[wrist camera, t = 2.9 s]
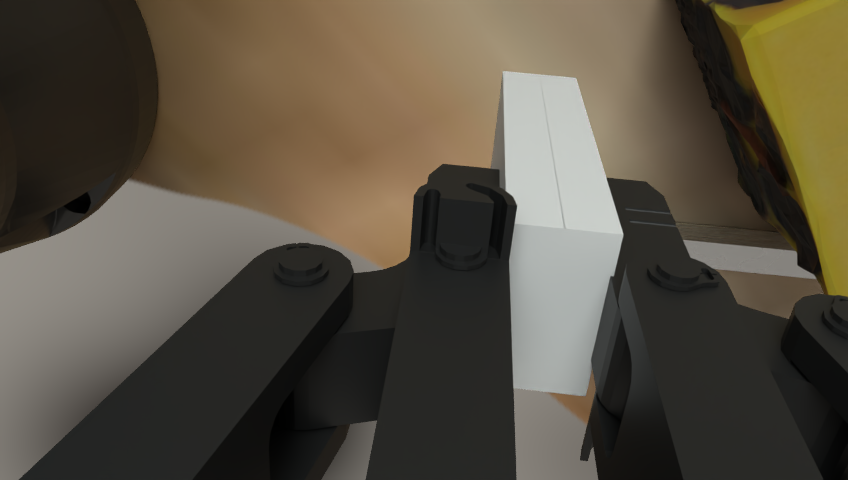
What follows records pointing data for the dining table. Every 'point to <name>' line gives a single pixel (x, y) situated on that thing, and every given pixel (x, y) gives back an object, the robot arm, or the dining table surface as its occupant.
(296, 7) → the dining table surface
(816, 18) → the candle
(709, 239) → the rail track
